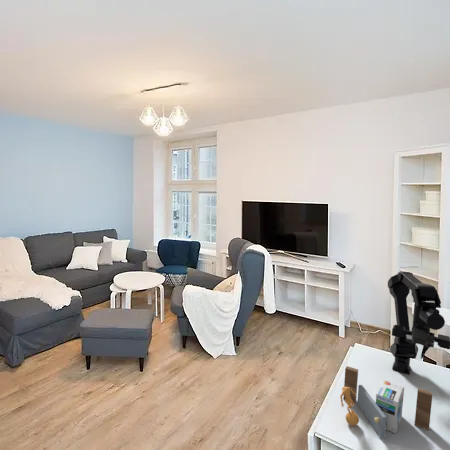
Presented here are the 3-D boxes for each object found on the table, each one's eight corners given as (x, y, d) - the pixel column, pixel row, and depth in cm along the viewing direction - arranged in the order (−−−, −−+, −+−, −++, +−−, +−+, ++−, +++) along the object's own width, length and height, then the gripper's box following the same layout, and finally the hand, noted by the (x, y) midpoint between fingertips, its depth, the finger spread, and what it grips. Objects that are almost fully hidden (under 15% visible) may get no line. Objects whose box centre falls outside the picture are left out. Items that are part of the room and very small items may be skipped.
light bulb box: (396, 434, 102) (398, 402, 100) (373, 424, 106) (375, 393, 104) (402, 415, 110) (404, 386, 109) (380, 407, 114) (383, 378, 113)
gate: (360, 403, 115) (361, 384, 114) (384, 438, 99) (386, 417, 99) (354, 403, 115) (355, 384, 114) (377, 438, 99) (379, 417, 98)
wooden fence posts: (344, 396, 120) (346, 365, 118) (429, 426, 105) (432, 392, 104) (343, 399, 118) (345, 368, 117) (428, 430, 103) (432, 395, 102)
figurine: (350, 433, 102) (352, 398, 100) (333, 422, 106) (335, 388, 105) (364, 422, 107) (366, 388, 105) (347, 412, 111) (349, 379, 110)
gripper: (391, 319, 119) (388, 359, 121) (453, 332, 109) (448, 375, 111) (395, 310, 129) (392, 347, 130) (452, 321, 118) (448, 361, 120)
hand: (418, 357), depth 123 cm, fingers closed
